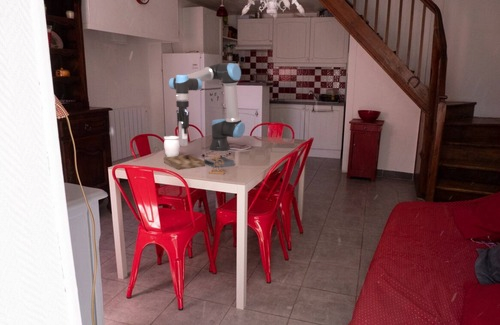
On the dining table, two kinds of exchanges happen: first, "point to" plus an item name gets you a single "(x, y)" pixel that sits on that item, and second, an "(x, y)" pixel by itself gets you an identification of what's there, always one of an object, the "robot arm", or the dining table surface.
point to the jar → (171, 146)
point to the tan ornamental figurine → (217, 167)
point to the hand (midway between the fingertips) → (183, 138)
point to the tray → (184, 162)
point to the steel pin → (182, 141)
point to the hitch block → (226, 162)
